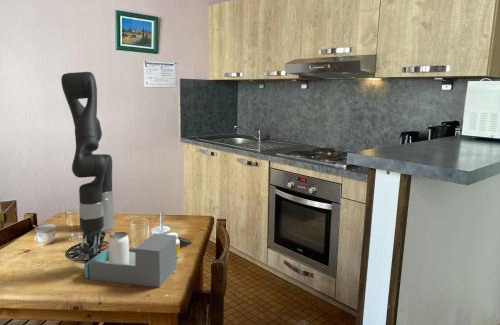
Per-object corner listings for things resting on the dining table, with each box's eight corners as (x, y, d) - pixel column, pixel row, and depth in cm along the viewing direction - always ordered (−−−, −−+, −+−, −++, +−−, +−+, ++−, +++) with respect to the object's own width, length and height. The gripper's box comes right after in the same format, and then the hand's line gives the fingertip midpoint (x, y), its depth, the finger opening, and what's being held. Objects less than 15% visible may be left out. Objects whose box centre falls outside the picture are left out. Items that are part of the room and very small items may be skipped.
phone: (167, 233, 167) (192, 242, 159) (167, 236, 168) (192, 244, 159) (153, 238, 161) (178, 247, 152) (153, 241, 161) (178, 250, 153)
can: (105, 268, 131) (104, 234, 129) (123, 262, 136) (122, 229, 134) (115, 274, 127) (114, 239, 125) (133, 268, 132) (132, 234, 130)
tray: (107, 260, 140) (107, 248, 140) (151, 264, 138) (151, 252, 137) (84, 277, 127) (84, 264, 126) (133, 283, 124) (132, 270, 123)
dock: (112, 261, 140) (111, 229, 138) (175, 268, 136) (175, 235, 134) (89, 279, 126) (88, 243, 124) (159, 287, 122) (159, 251, 120)
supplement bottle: (161, 258, 143) (161, 234, 142) (174, 255, 147) (173, 230, 146) (170, 263, 140) (170, 238, 138) (182, 259, 144) (182, 234, 142)
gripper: (92, 208, 137) (94, 254, 140) (69, 219, 125) (71, 270, 128) (112, 210, 136) (113, 256, 139) (90, 221, 123) (92, 273, 126)
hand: (93, 263), depth 133 cm, fingers closed
